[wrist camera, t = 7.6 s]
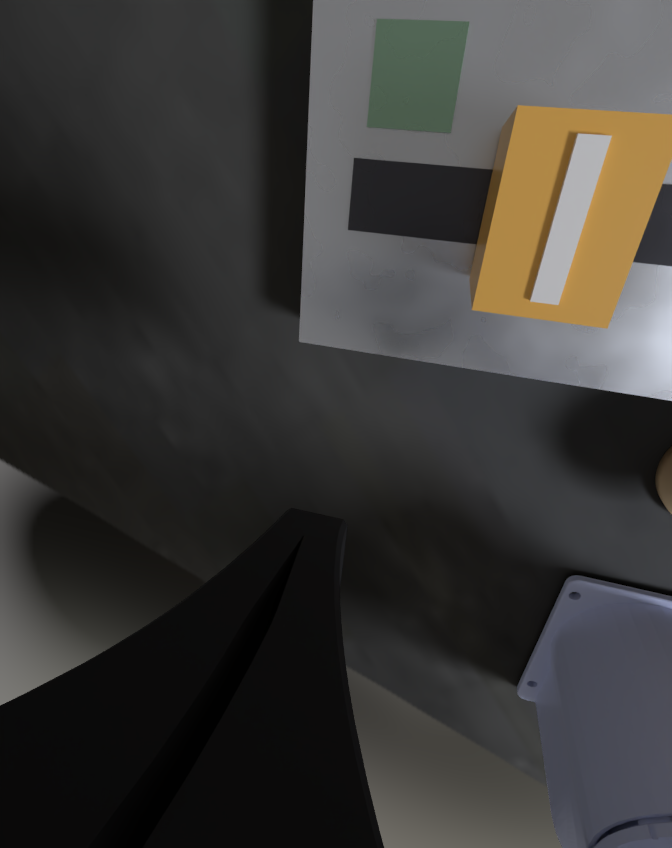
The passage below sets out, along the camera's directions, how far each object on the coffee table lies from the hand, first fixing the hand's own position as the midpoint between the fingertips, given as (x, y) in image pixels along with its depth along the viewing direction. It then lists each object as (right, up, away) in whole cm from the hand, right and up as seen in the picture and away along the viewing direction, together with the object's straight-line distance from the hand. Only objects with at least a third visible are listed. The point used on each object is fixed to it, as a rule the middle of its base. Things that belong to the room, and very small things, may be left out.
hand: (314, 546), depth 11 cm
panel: (+8, +10, +5) cm, 13 cm away
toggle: (+6, +9, +2) cm, 11 cm away
